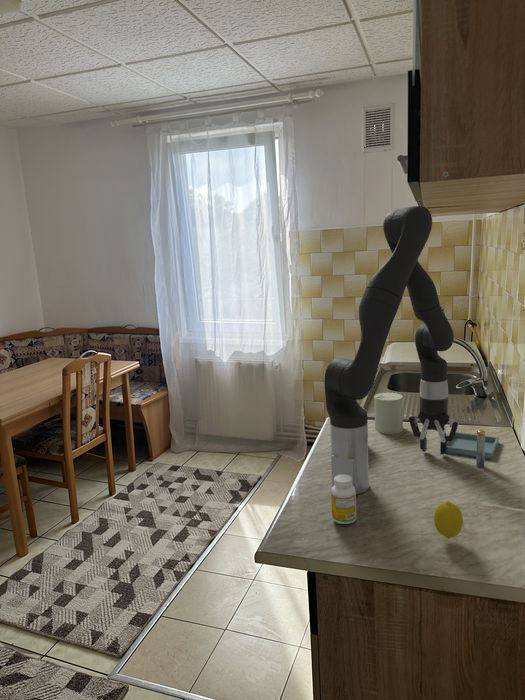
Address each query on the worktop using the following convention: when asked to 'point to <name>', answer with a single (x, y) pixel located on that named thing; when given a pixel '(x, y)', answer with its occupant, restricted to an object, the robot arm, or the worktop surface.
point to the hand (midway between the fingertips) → (433, 451)
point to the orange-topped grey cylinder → (480, 448)
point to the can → (388, 413)
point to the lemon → (448, 519)
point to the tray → (471, 445)
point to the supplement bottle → (343, 500)
